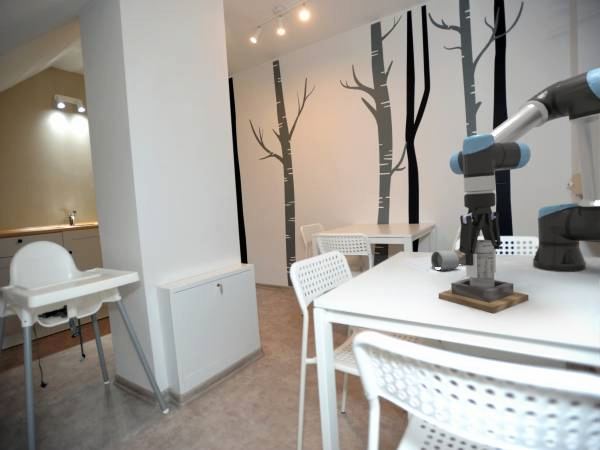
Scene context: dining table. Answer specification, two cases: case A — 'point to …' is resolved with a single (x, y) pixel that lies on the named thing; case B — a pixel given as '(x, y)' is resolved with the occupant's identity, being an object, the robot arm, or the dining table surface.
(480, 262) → the energy drink can
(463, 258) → the seashell
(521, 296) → the board
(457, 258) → the ceramic mug
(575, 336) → the dining table surface
